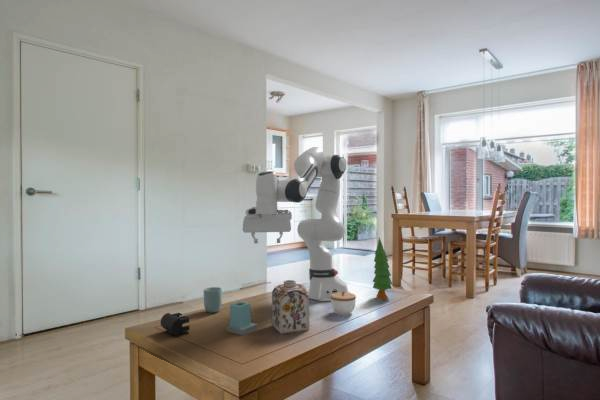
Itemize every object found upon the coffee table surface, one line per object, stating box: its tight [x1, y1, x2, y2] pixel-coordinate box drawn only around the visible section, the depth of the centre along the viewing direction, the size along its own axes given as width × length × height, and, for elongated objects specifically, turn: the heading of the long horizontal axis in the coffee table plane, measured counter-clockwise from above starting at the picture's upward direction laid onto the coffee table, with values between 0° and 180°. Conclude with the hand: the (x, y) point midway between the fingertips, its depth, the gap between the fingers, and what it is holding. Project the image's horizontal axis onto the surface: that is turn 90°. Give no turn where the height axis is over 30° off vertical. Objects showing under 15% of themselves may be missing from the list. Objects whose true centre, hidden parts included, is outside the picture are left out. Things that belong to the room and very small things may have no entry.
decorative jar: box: [271, 279, 310, 335], centre depth 153 cm, size 12×12×18 cm
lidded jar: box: [330, 291, 357, 316], centre depth 171 cm, size 11×11×9 cm
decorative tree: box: [372, 237, 393, 300], centre depth 195 cm, size 10×9×30 cm
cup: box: [203, 286, 223, 314], centre depth 176 cm, size 8×8×10 cm
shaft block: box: [226, 322, 258, 336], centre depth 150 cm, size 8×8×7 cm
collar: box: [229, 301, 252, 328], centre depth 150 cm, size 5×5×8 cm
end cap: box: [160, 312, 190, 337], centre depth 149 cm, size 10×7×7 cm
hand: (267, 243), depth 166 cm, fingers open, 8 cm apart
